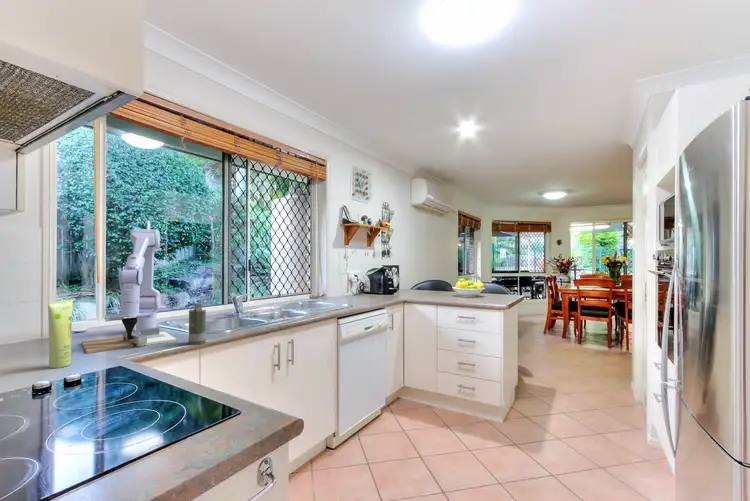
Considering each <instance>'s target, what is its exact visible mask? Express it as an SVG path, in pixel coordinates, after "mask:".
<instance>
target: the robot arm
mask: <svg viewBox="0 0 750 501" xmlns="http://www.w3.org/2000/svg"><path fill="white" fill-rule="evenodd" d="M160 233H161V232H160V230H159V229H157V228H155V229H152V228H151V229H149V228H148V229H147V228H145V229H144V228H143V229H141V228H132V229H131V231H130V234H129V237H130V242H131V244H132V245H133V248H132V254H130V255H128V256H127V259H126V262H125V265H124V268H123V269H122V270H120V272H119V274H118V282H119V290H120V313H117V314H108V315H105V322H110V321H111V322H112V321H121V323H122V324H123V326H124V329H125V331H127V339H128V340H131V334H132V331H134V332H135V333H139V334H141V329H147V328H156V327H157V312H158V311H159V310H160V309H161V305H162V298H161V292H160V291H159V290H157V289H156V288H154V275H155V274H154V273H155V271H154V270H155V252H156V250H159V249H160V246H161V234H160Z"/></svg>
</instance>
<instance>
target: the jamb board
mask: <svg viewBox="0 0 750 501" xmlns="http://www.w3.org/2000/svg"><path fill="white" fill-rule="evenodd" d="M81 345H82V348H83V349H84V352H85V354H86V355H87V354H95V353H101V352H109V351H117V350H124V349H131V348H130V347H132V348H134V347H135V344H134V343H133V342H130V341H127V340H123V335H122V336H115V337H107V338H100V339H99V338H98V339H91V340H83V341H81Z"/></svg>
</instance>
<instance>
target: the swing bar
mask: <svg viewBox="0 0 750 501" xmlns="http://www.w3.org/2000/svg"><path fill="white" fill-rule="evenodd" d="M122 332H123V333H122V336H123V340H127V341H130V342H132V343H133V344H134V343H136V344H144V343H147V336H145V335H142V334H139V333H135V332H134V331H132V334H131V340H128V339H127V331H126V330H124V331H122Z"/></svg>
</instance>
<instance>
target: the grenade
mask: <svg viewBox="0 0 750 501" xmlns="http://www.w3.org/2000/svg"><path fill="white" fill-rule="evenodd" d="M206 313H207V310H206V309H202V303H201V302H193V305H192V306H191V308H190V309H189V311H188V343H187V344H188V345H191V346H198V345H199V346H200V345H204V344H206V321H207V320H206V317H207V316H206Z"/></svg>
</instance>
